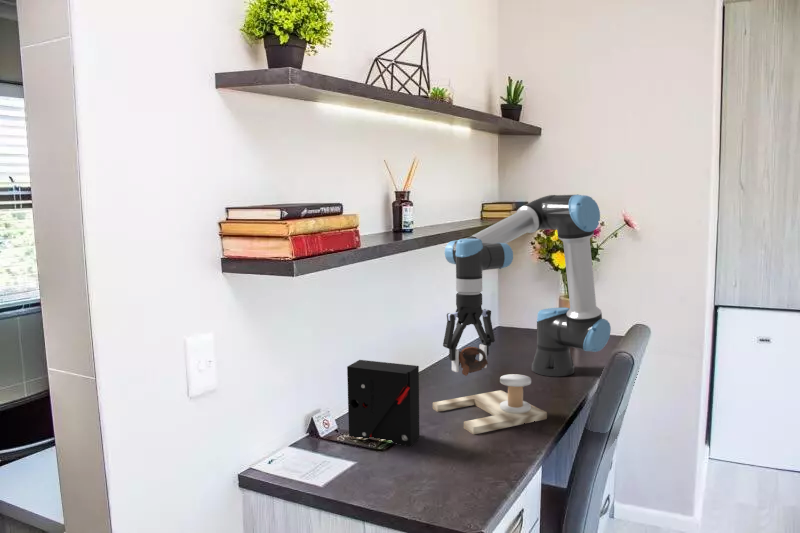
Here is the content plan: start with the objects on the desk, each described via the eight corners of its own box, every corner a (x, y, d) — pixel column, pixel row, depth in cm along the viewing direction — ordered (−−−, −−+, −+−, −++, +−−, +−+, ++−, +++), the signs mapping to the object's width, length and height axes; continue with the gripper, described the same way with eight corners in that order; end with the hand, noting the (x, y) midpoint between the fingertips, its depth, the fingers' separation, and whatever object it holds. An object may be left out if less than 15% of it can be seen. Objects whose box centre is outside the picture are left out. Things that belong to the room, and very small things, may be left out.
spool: (518, 401, 192) (518, 372, 191) (537, 410, 184) (537, 380, 183) (493, 406, 188) (494, 376, 187) (511, 415, 180) (512, 385, 179)
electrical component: (422, 435, 172) (421, 363, 169) (408, 449, 162) (407, 374, 160) (364, 426, 179) (363, 357, 176) (347, 439, 169) (345, 367, 167)
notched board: (500, 396, 203) (500, 390, 203) (546, 418, 182) (546, 412, 182) (432, 408, 192) (432, 402, 192) (473, 434, 172) (473, 427, 171)
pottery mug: (490, 369, 187) (493, 349, 182) (478, 391, 180) (481, 371, 175) (452, 356, 191) (454, 336, 186) (440, 376, 184) (442, 356, 179)
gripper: (493, 287, 189) (492, 361, 192) (429, 293, 180) (430, 370, 183) (507, 291, 182) (507, 367, 185) (442, 297, 173) (443, 377, 176)
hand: (469, 368), depth 184 cm, fingers closed on pottery mug, 9 cm apart
